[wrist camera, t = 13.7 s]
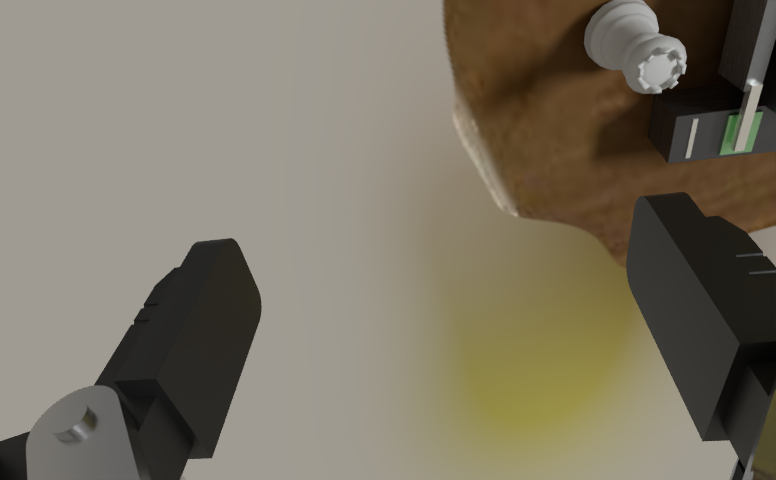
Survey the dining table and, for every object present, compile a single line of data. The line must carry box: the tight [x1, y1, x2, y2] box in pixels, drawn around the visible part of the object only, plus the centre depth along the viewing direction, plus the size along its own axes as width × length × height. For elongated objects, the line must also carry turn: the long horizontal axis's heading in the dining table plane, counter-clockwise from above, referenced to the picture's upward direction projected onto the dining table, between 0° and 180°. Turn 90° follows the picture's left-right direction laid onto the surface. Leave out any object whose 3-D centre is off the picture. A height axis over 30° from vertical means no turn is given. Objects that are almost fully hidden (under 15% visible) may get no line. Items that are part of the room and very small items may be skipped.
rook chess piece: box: [584, 0, 687, 94], centre depth 31 cm, size 4×4×8 cm
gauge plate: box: [718, 0, 776, 152], centre depth 31 cm, size 11×1×4 cm, turn 9°
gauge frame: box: [648, 39, 776, 163], centre depth 31 cm, size 14×8×6 cm, turn 9°
